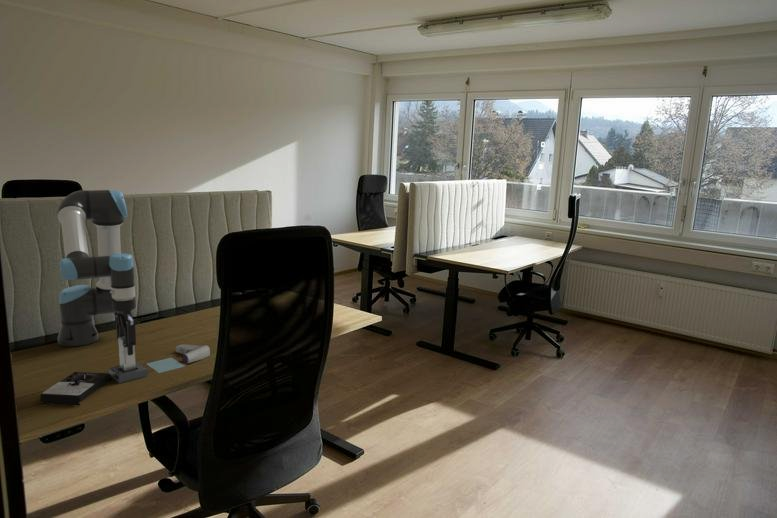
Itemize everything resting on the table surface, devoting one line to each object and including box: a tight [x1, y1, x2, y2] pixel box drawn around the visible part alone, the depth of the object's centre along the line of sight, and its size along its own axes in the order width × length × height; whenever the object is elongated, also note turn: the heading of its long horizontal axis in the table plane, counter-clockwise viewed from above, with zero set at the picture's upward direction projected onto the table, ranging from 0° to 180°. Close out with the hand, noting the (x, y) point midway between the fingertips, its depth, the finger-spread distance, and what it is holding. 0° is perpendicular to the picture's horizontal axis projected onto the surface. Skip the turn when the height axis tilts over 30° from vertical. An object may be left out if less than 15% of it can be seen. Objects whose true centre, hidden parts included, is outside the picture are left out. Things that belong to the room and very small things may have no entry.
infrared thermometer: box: [175, 343, 211, 364], centre depth 224 cm, size 5×12×15 cm
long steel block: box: [117, 336, 136, 373], centre depth 201 cm, size 4×4×13 cm
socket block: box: [108, 361, 149, 384], centre depth 202 cm, size 10×10×4 cm
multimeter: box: [39, 371, 112, 406], centre depth 189 cm, size 13×19×5 cm
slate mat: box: [146, 357, 186, 374], centre depth 213 cm, size 12×10×1 cm
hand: (127, 360), depth 201 cm, fingers closed on long steel block, 4 cm apart
